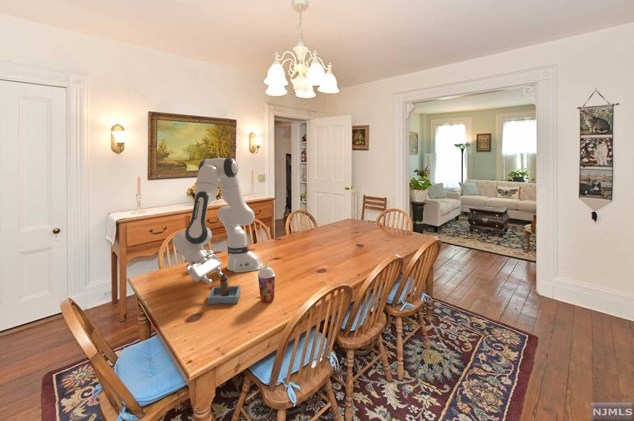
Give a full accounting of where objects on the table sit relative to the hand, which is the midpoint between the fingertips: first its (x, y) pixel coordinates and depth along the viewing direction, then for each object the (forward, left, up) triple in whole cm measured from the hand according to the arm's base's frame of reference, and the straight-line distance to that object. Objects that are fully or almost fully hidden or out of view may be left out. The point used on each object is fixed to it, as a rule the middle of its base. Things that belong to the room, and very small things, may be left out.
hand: (216, 279), depth 156 cm
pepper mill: (-4, +2, -9) cm, 10 cm away
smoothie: (-25, +6, -10) cm, 28 cm away
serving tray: (-4, +2, -10) cm, 11 cm away
